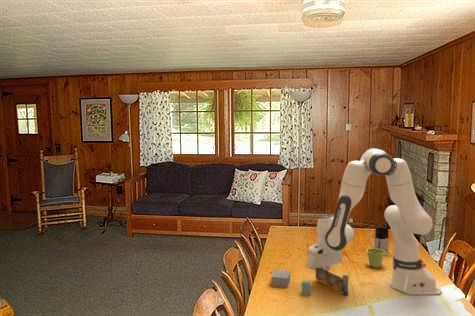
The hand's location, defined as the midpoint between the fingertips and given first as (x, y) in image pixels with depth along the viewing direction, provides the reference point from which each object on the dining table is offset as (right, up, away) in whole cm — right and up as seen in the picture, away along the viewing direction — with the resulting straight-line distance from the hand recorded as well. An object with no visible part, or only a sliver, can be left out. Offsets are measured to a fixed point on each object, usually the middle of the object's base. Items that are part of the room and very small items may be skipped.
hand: (325, 273), depth 194 cm
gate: (+1, -3, -6) cm, 7 cm away
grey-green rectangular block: (-12, -5, -14) cm, 19 cm away
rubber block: (-23, -4, -1) cm, 23 cm away
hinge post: (+6, -5, -15) cm, 17 cm away
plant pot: (+32, -2, +19) cm, 38 cm away
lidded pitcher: (+41, 0, +39) cm, 56 cm away
